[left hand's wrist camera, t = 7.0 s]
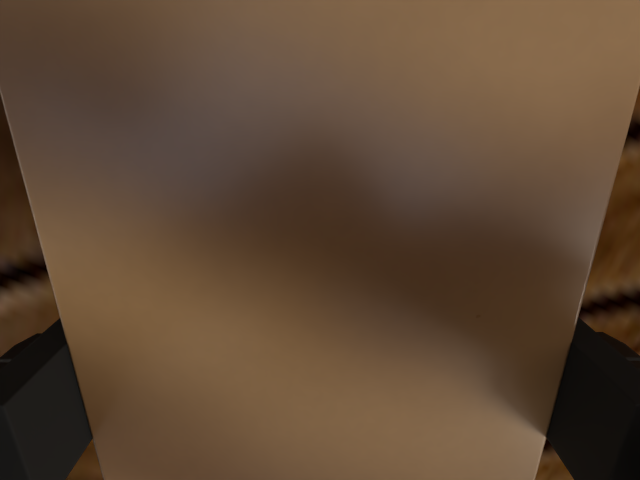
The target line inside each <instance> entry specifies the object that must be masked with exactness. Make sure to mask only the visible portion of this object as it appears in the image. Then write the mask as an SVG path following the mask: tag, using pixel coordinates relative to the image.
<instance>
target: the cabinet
mask: <svg viewBox="0 0 640 480" xmlns="http://www.w3.org/2000/svg"><path fill="white" fill-rule="evenodd" d="M639 87H640V0H0V95H1V99H2V103H3V106H4V110H5V114H6V118H7V121H8V125H9V129H10V133H11V136H12V140H13V144H14V147H15V151H16V155H17V159H18V162H19V166H20V170H21V174H22V177H23V181H24V185H25V188H26V192H27V196H28V200H29V203H30V207H31V211H32V215H33V218H34V222H35V226H36V229H37V233H38V237H39V241H40V244H41V248H42V252H43V256H44V259H45V263H46V267H47V270H48V274H49V278H50V282H51V285H52V289H53V293H54V297H55V300H56V304H57V308H58V312H59V315H60V319H61V323H62V326H63V330H64V334H65V338H66V341H67V345H68V349H69V353H70V356H71V360H72V364H73V367H74V371H75V375H76V379H77V382H78V386H79V390H80V394H81V397H82V401H83V405H84V408H85V412H86V416H87V420H88V423H89V427H90V431H91V435H92V438H93V442H94V446H95V449H96V453H97V457H98V461H99V464H100V468H101V472H102V476H103V479H104V480H535V477H536V474H537V470H538V466H539V462H540V459H541V455H542V451H543V447H544V444H545V440H546V436H547V432H548V429H549V425H550V421H551V417H552V414H553V410H554V406H555V402H556V399H557V395H558V391H559V387H560V384H561V380H562V376H563V372H564V369H565V365H566V361H567V357H568V354H569V350H570V346H571V342H572V339H573V335H574V331H575V327H576V324H577V320H578V316H579V312H580V308H581V305H582V301H583V297H584V293H585V290H586V286H587V282H588V278H589V275H590V271H591V267H592V263H593V260H594V256H595V252H596V248H597V245H598V241H599V237H600V233H601V230H602V226H603V222H604V218H605V215H606V211H607V207H608V203H609V200H610V196H611V192H612V188H613V185H614V181H615V177H616V173H617V170H618V166H619V162H620V158H621V154H622V151H623V147H624V143H625V139H626V136H627V132H628V128H629V124H630V121H631V117H632V113H633V109H634V106H635V102H636V98H637V94H638V91H639Z"/></svg>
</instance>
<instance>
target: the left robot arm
mask: <svg viewBox="0 0 640 480" xmlns="http://www.w3.org/2000/svg"><path fill="white" fill-rule="evenodd" d="M546 437H547V439H548V440H549V442H550V444H551V445H552V447H553V448H554V450H555V451H556V453H557V454H558V456H559V457H560V459H561V460H562V462H563V463H564V465H565V466H566V468H567V469H568V471H569V472H570V474H571V475H572V477H573V478H574V480H640V356H639V355H638V354H637V353H635V352H634V351H633V350H632V349H631V348H629V347H628V346H627V345H626V344H624V343H622V342H620V341H618V340H617V339H615V338H613V337H611V336H609V335H607V334H605V333H603V332H595V331H594V330H593V329H591V328H590V327H589V326H588V325H587V324H586V323H584V322H583V321H582V320H581V319H580V318H579V317H578V320H577V324H576V327H575V331H574V335H573V339H572V342H571V346H570V350H569V354H568V357H567V361H566V365H565V369H564V372H563V376H562V380H561V384H560V387H559V391H558V395H557V399H556V402H555V406H554V410H553V414H552V417H551V421H550V425H549V429H548V432H547V436H546ZM91 440H92V435H91V431H90V427H89V423H88V420H87V416H86V412H85V408H84V405H83V401H82V397H81V394H80V390H79V386H78V382H77V379H76V375H75V371H74V367H73V364H72V360H71V356H70V353H69V349H68V345H67V341H66V338H65V334H64V330H63V326H62V323H61V319H58V320H57V321H56V322H55V323H54V324H53V325H52V326H50V327H49V328H48V329H47V330H46V331H45V332H43V333H42V334H35V335H33V336H32V337H30V338H28V339H26V340H24V341H22V342H20V343H18V344H17V345H15V346H13V347H12V348H11V349H10V350H9V351H7V352H6V353H5V354H4V355H3V356H1V357H0V480H65V479H66V478H67V476H68V475H69V473H70V472H71V470H72V469H73V467H74V465H75V464H76V462H77V461H78V459H79V458H80V456H81V455H82V453H83V452H84V450H85V449H86V447H87V446H88V444H89V443H90V441H91Z"/></svg>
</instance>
